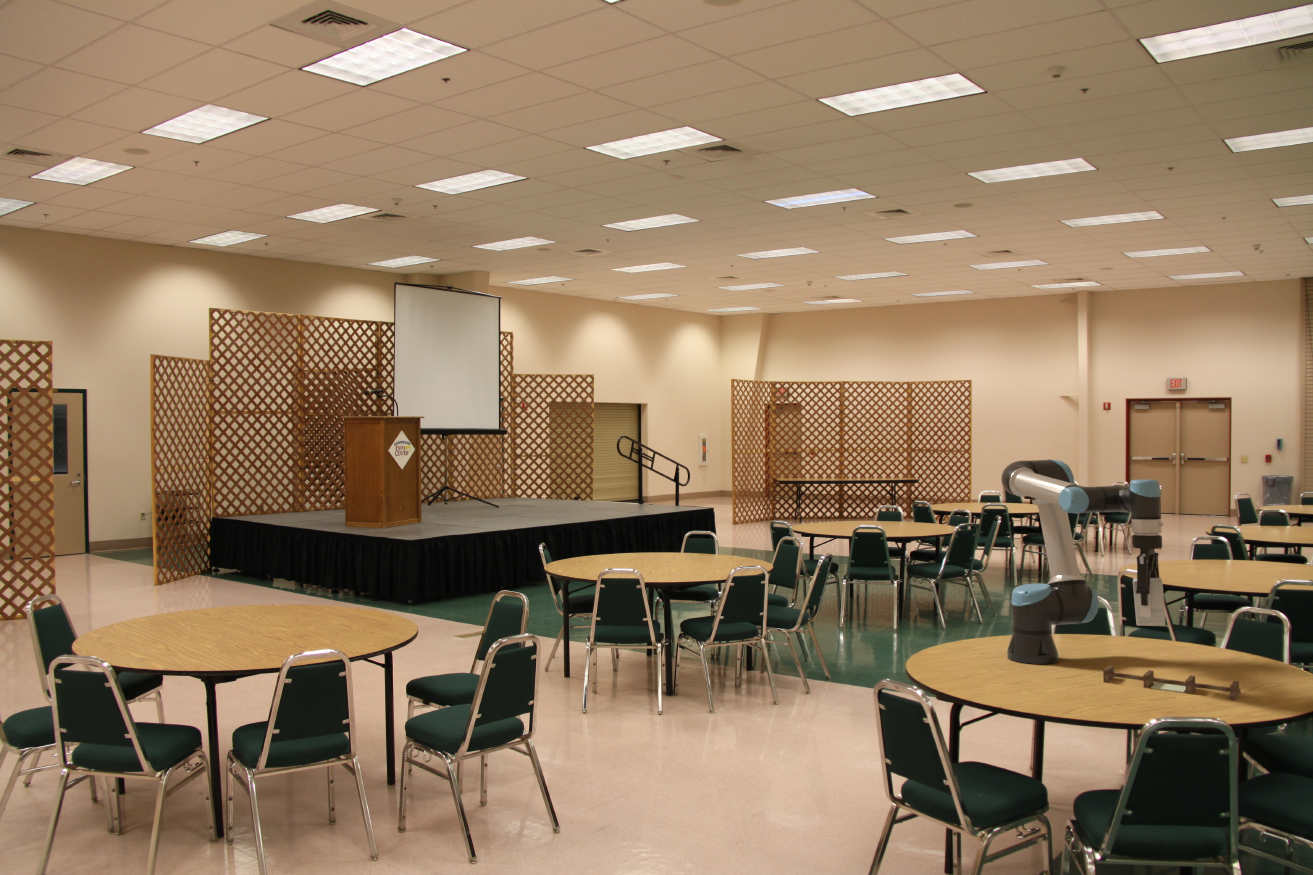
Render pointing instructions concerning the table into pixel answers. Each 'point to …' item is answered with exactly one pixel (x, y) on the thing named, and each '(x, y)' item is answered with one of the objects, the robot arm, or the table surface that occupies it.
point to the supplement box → (1156, 604)
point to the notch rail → (1171, 681)
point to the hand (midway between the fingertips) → (1149, 614)
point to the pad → (1169, 687)
